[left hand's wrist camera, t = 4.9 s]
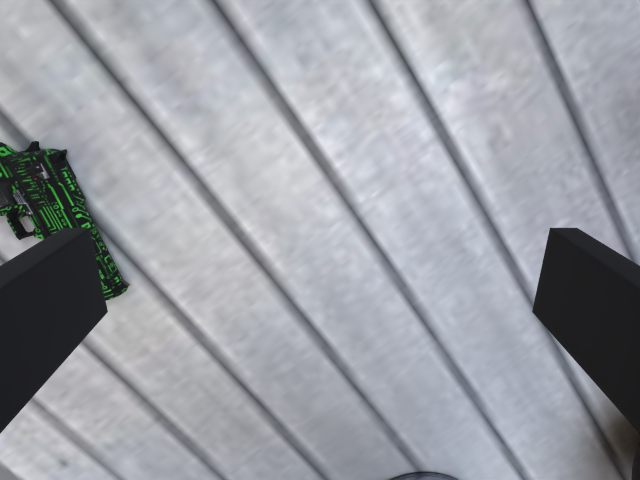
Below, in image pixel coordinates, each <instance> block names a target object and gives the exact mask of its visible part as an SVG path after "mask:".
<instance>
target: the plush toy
mask: <svg viewBox="0 0 640 480" xmlns="http://www.w3.org/2000/svg"><path fill="white" fill-rule="evenodd" d="M632 480H640V444H639V446H638V449H637V452H636V455H635V458H634V462H633V468H632Z"/></svg>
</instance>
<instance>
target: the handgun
mask: <svg viewBox="0 0 640 480" xmlns="http://www.w3.org/2000/svg"><path fill="white" fill-rule="evenodd" d="M66 154H67V150H66V149H65V150H62V151H61V150H56V149H42V150H40V148H39V142H38V141H34V142H32V143H31V145H30V146H29V148H28V149H27V150H26V151H21V152H16V151H14V150H13V149H11V148H10V147H9V146H7V145H6V144H4V143H2V142H0V216H4V215H7V221H8V223H9V225H10V226H11V228H12V230H13V232H14V233H15V235H16V237H17V238H18V239H19V240H21V239H23V238H25V237H29V236H32V235H34V237H36V238H40V239H46V238H47V237H49V236H51V235H52V234H54V233H56V232H57V231H59V230H60V229H62V228H90V231H91V236H92V240H93V245H94V250H95V255H96V259H97V264H98V269H99V273H100V278H101V283H102V288H103V292H104V297H105V301H106V300H109V299H112V298H114V297H116V296H119V295H121V294H122V293H124V292H125V291H126V290H127V287H128V286H130V284H128V283H127V282H126V281H124V280H123V278H122V277H121V275H120V273H119V271H118V269H117V267H116V265H115V264H114V262H113V260H112V258H111V256H110V254H109V252H108V250H107V248H106V246H105V244H104V242H103V240H102V238H101V236H100V234H99V232H98V230H97V228H96V226H95V225H94V223H93V221H92V219H91V217H90V215H89V213H88V211H87V210H86V208H85V206H84V204H83V202H82V201H84V200H85V197H84V195H83V193H82V191H81V189H80V188H79V186H78V184H77V182H76V180H75V179H76V177H75V175H74V173H73V171H72V169H71V167H70V165H69V163H68V161H67V159H66V158H65V157H66ZM20 209H21V210H22V212H21V213H19V214H18V210H20ZM24 216H29V218H30V219H31V221H32V222H33V224H34V226H35V228H34V230H33V231H32V232H29V233H28V232H27V231H26V230H25V229H24V227H23V225H22V224H21V222H20V221H19V219H20V218H21V217H24Z"/></svg>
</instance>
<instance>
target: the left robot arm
mask: <svg viewBox="0 0 640 480" xmlns="http://www.w3.org/2000/svg"><path fill="white" fill-rule="evenodd" d="M107 312H108V311H107V306H106V302H105V297H104V292H103V288H102V283H101V278H100V273H99V269H98V264H97V259H96V255H95V250H94V245H93V240H92V236H91V231H90V228H62V229H60V230H59V231H57V232H56V233H54V234H52V235H51V236H49V237H47V238H46V239H44V240H42V241H41V242H39V243H37V244H36V245H34V246H33V247H31V248H29V249H28V250H26V251H24V252H23V253H21V254H19V255H18V256H16V257H14V258H13V259H11V260H10V261H8V262H6V263H5V264H3V265H1V266H0V433H1V432H2V431H3V430H4V429H5V427H6V426H7V425H8V424H9V423H10V422H11V421H12V419H13V418H14V417H15V416H16V415H17V414H18V413H19V412H20V410H21V409H22V408H23V407H24V406H25V405H26V404H27V403H28V401H29V400H30V399H31V398H32V397H33V396H34V395H35V393H36V392H37V391H38V390H39V389H40V388H41V387H42V386H43V384H44V383H45V382H46V381H47V380H48V379H49V378H50V376H51V375H52V374H53V373H54V372H55V371H56V370H57V369H58V367H59V366H60V365H61V364H62V363H63V362H64V361H65V360H66V358H67V357H68V356H69V355H70V354H71V353H72V352H73V350H74V349H75V348H76V347H77V346H78V345H79V344H80V343H81V341H82V340H83V339H84V338H85V337H86V336H87V335H88V334H89V332H90V331H91V330H92V329H93V328H94V327H95V326H96V324H97V323H98V322H99V321H100V320H101V319H102V318H103V317H104V315H105V314H106V313H107ZM532 312H533V313H534V314H535V315H536V317H537V318H538V319H539V320H540V321H541V322H542V323H543V324H544V326H545V327H546V328H547V329H548V330H549V331H550V332H551V334H552V335H553V336H554V337H555V338H556V339H557V340H558V341H559V343H560V344H561V345H562V346H563V347H564V348H565V349H566V350H567V352H568V353H569V354H570V355H571V356H572V357H573V358H574V360H575V361H576V362H577V363H578V364H579V365H580V366H581V367H582V369H583V370H584V371H585V372H586V373H587V374H588V375H589V377H590V378H591V379H592V380H593V381H594V382H595V383H596V384H597V386H598V387H599V388H600V389H601V390H602V391H603V392H604V393H605V395H606V396H607V397H608V398H609V399H610V400H611V401H612V403H613V404H614V405H615V406H616V407H617V408H618V409H619V410H620V412H621V413H622V414H623V415H624V416H625V417H626V418H627V419H628V421H629V422H630V423H631V424H632V425H633V426H634V427H635V429H636V430H637V431H638V432H639V433H640V266H639V265H637V264H635V263H634V262H632V261H630V260H629V259H627V258H626V257H624V256H622V255H621V254H619V253H617V252H616V251H614V250H612V249H611V248H609V247H607V246H606V245H604V244H603V243H601V242H599V241H598V240H596V239H594V238H593V237H591V236H589V235H588V234H586V233H584V232H583V231H581V230H580V229H578V228H550V231H549V236H548V240H547V245H546V250H545V255H544V259H543V264H542V269H541V273H540V278H539V283H538V287H537V292H536V297H535V302H534V306H533V311H532ZM393 480H457V479H455V478H452V477H449V476H446V475H442V474H436V473H416V474H409V475H405V476H401V477H398V478H396V479H393Z"/></svg>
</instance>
